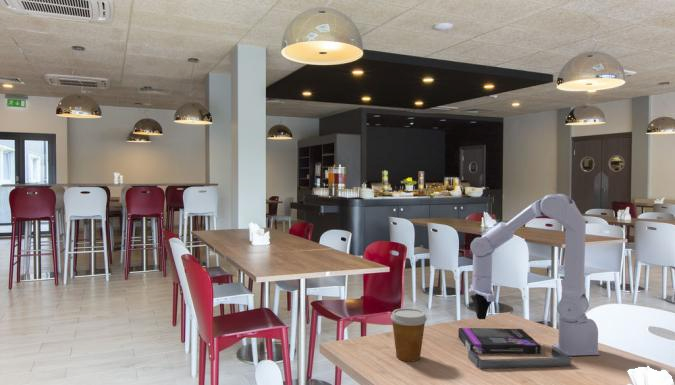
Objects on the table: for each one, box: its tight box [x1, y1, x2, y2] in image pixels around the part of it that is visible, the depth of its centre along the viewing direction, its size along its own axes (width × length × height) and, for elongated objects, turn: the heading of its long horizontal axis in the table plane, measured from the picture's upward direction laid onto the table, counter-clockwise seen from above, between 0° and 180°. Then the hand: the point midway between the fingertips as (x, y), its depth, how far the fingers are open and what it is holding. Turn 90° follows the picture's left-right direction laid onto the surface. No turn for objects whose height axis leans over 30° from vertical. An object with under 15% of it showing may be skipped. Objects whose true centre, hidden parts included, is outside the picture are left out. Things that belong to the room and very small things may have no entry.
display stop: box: [467, 347, 572, 370], centre depth 125 cm, size 24×8×2 cm, turn 95°
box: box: [457, 327, 542, 355], centre depth 137 cm, size 14×4×20 cm
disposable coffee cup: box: [390, 307, 428, 362], centre depth 128 cm, size 10×10×12 cm
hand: (481, 318), depth 149 cm, fingers closed
